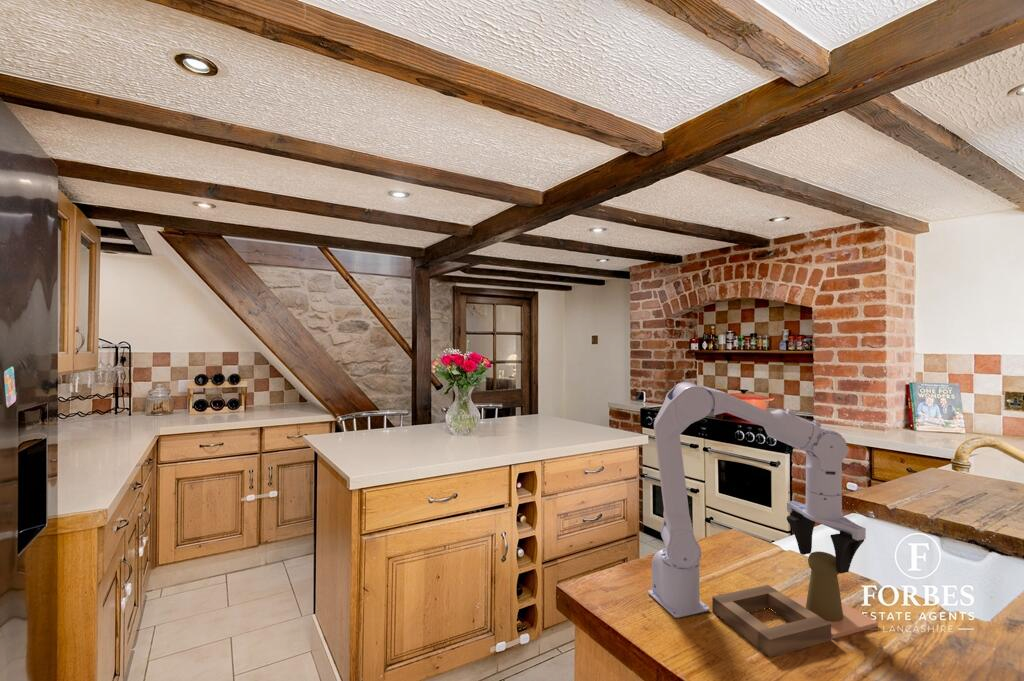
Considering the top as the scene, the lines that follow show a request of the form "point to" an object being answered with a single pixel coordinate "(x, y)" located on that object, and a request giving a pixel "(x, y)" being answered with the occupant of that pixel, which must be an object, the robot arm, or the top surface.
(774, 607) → the walnut holder
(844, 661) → the top surface
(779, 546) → the top surface
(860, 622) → the terracotta tile
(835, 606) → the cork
